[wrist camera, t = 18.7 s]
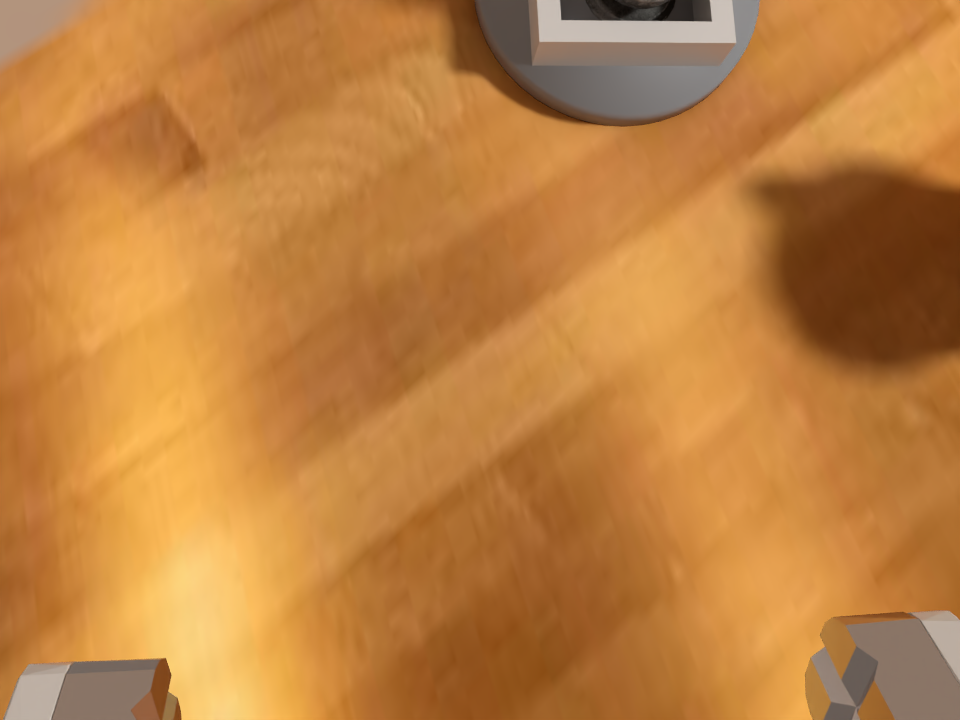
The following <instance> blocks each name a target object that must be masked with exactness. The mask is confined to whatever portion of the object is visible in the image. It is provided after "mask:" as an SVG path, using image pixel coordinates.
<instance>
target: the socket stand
mask: <svg viewBox="0 0 960 720" xmlns="http://www.w3.org/2000/svg"><path fill="white" fill-rule="evenodd" d="M475 8H476V13H477V16H478V20H479V24H480V27H481V30H482V32H483V34H484V37H485V39H486V42H487V44H488V45H489V47H490V49H491V51H492V52H493V54H494V56H495V58H496V59H497V60H498V62H499V63H500V64H501V66H502V67H503V68H504V70H505V71H506V72H507V74H508V75H509V76H510V77H511V78H512V79H513V80H514V81H515V82H516V83H517V84H518V85H519V86H520V87H521V88H523V89H524V90H525V91H527V92H528V93H529V94H530V95H532V96H533V97H534V98H535V99H537V100H539V101H540V102H542V103H544V104H545V105H547V106H548V107H550V108H552V109H554V110H556V111H559V112H561V113H563V114H565V115H567V116H570V117H573V118H576V119H579V120H583V121H586V122H591V123H596V124H602V125H611V126H634V125H644V124H649V123H654V122H659V121H662V120H665V119H668V118H671V117H674V116H677V115H679V114H681V113H683V112H685V111H687V110H689V109H691V108H692V107H694V106H695V105H697V104H698V103H700V102H701V101H703V100H704V99H705V98H707V97H708V96H709V95H710V94H711V93H712V92H713V91H714V90H715V89H716V88H718V87H719V85H720V84H721V83H722V82H723V80H724V79H725V78H726V77H727V75H728V74H729V73H730V72H731V70H732V69H733V68H734V66H735V65H736V64H737V63H738V61H739V60H740V58H741V56H742V55H743V53H744V51H745V50H746V48H747V46H748V44H749V41H750V39H751V36H752V34H753V32H754V28H755V24H756V20H757V16H758V10H759V0H676V1H675V5H674V8H673V10H672V11H671V13H670V15H669V16H668V18H667V19H666V20H665V21H600V20H599V19H598V18H597V17H596V16H595V15H594V14H593V13H592V11H591V10H590V8H589V7H588V5H587V3H586V0H475Z"/></svg>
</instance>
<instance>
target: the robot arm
mask: <svg viewBox="0 0 960 720" xmlns="http://www.w3.org/2000/svg"><path fill="white" fill-rule="evenodd" d="M820 637H821V639H822V641H823V643H824V645H825V647H824V648H823V649H821V650H820V651H819V652H817V653H816V654H815V655H813V656H812V657H811V658H810V661H809V664H808V667H807V670H806V673H805V691H806V699H807V703H808V707H809V710H810V714H811V716H812V719H813V720H960V620H959V619H958V618H957V617H956V616H955V615H953V614H952V613H951V612H949V611H944V610H937V611H925V612H913V613H905V612H893V613H880V614H867V615H854V616H841V617H832V618H831V619H830V620H828V621H827V622H825V624H824V626H823V629H822V631H821V633H820ZM170 679H171V673H170V669H169V666H168V663H167V660H166V658H157V659H133V660H109V661H85V662H59V663H42V664H29V665H28V666H27V668H26V669H25V670H24V672H23V673H22V674H21V676H20V677H19V678H18V681H17V683H16V686H15V689H14V691H13V694H12V697H11V700H10V702H9V705H8V708H7V710H6V713H5V716H4V718H3V720H181V710H180V706H179V702H178V698H177V697H175V696H174V695H172V694H171V693H169V692H168V689H169V684H170Z"/></svg>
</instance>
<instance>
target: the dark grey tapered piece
mask: <svg viewBox="0 0 960 720" xmlns="http://www.w3.org/2000/svg"><path fill="white" fill-rule="evenodd" d="M675 1H676V0H586V3H587V5H588V7H589V8H590V10H591V11H592V13H593V14H594V15H595V16H596V17H597V18H598V19H599V20H600V21H665V20H666V19H667V18H668V16H669V15H670V13H671V11H672V10H673V8H674V5H675Z"/></svg>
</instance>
